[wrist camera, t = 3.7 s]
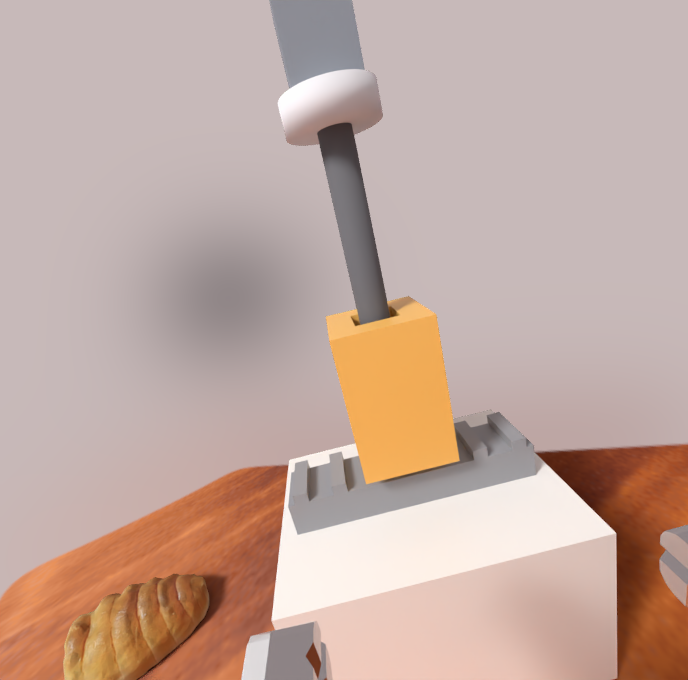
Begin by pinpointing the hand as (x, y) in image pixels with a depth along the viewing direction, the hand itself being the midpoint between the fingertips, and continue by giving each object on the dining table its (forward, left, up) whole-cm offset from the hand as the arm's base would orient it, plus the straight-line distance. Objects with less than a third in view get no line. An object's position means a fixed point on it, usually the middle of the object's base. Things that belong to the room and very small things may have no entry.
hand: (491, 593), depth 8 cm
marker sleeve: (-2, -12, -4) cm, 13 cm away
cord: (-2, -12, -7) cm, 14 cm away
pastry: (+19, -19, -18) cm, 32 cm away
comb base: (-2, -12, -17) cm, 21 cm away
